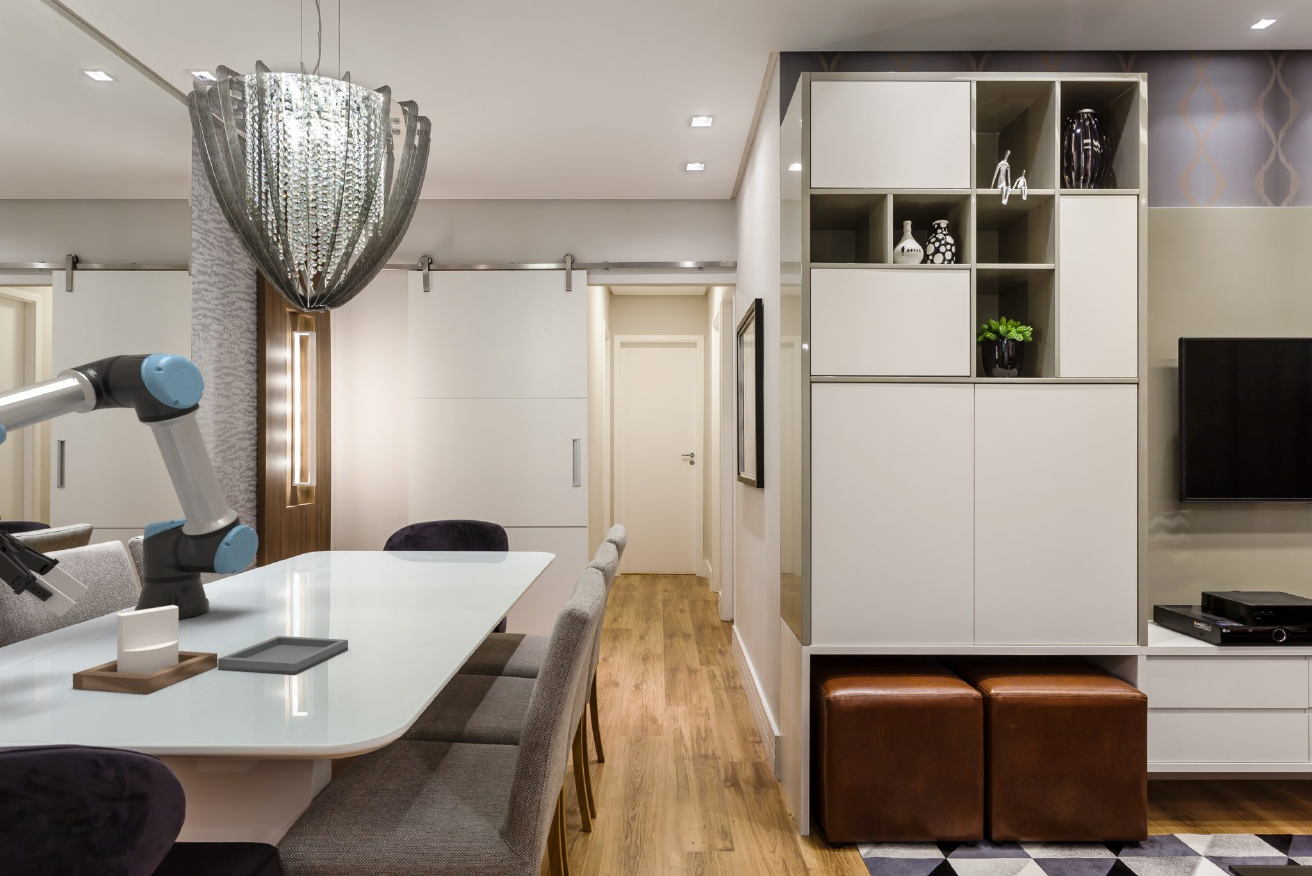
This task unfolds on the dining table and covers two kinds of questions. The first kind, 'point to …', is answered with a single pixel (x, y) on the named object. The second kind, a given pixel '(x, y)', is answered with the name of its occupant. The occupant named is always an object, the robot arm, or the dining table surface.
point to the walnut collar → (112, 681)
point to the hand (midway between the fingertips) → (75, 602)
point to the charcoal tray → (283, 655)
